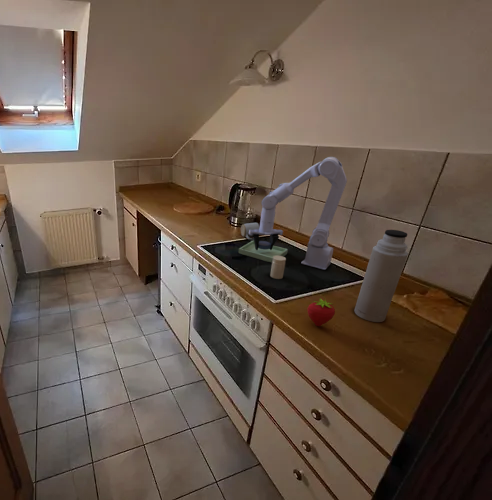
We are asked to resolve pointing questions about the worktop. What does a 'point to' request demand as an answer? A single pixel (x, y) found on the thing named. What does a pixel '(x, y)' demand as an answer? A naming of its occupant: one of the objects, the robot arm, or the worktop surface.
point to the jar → (278, 267)
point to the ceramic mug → (247, 227)
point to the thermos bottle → (382, 276)
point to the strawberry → (320, 312)
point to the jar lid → (264, 245)
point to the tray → (262, 252)
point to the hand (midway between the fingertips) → (263, 249)
